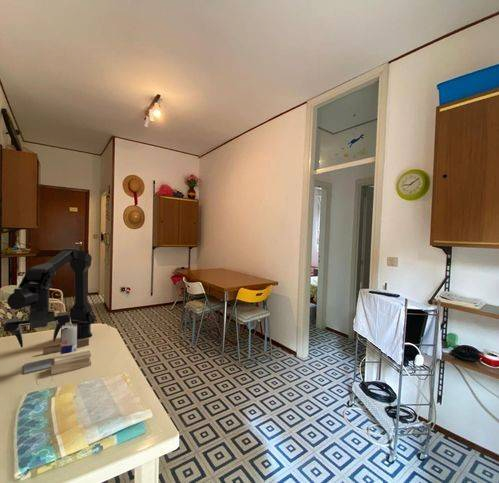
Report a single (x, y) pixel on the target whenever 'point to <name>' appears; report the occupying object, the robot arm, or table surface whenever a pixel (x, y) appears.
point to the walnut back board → (57, 347)
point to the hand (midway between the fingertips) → (38, 344)
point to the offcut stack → (70, 361)
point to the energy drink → (68, 339)
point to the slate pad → (37, 365)
